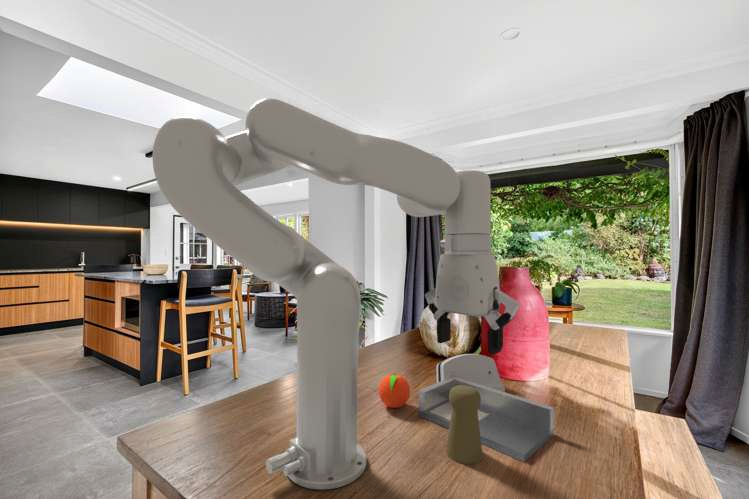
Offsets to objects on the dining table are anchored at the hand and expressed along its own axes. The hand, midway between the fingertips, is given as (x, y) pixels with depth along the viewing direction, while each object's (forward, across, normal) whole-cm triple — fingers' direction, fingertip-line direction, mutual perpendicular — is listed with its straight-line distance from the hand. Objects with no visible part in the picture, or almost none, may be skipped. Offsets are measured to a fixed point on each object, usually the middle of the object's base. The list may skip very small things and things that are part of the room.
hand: (467, 347), depth 60 cm
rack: (+18, -3, +11) cm, 21 cm away
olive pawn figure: (+18, 0, -1) cm, 18 cm away
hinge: (+19, -15, +24) cm, 34 cm away
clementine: (+18, -20, +3) cm, 27 cm away
